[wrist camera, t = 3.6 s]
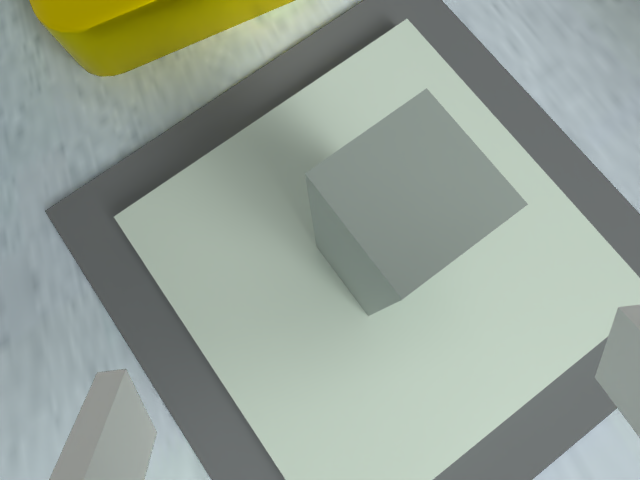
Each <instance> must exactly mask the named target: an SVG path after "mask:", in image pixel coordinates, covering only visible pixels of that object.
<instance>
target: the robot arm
mask: <svg viewBox="0 0 640 480" xmlns="http://www.w3.org/2000/svg"><path fill="white" fill-rule="evenodd" d="M595 379H596V380H597V381H598V383H599V384H600V385H601V387H602V388H603V389H604V391H605V392H606V393H607V395H608V396H609V397H610V399H611V400H612V401H613V403H614V404H615V405H616V407H617V408H618V409H619V411H620V412H621V413H622V415H623V416H624V417H625V419H626V420H627V421H628V423H629V424H630V425H631V427H632V428H633V430H634V431H635V432H636V434H637V435H638V436H639V438H640V305H632V306H624V307H618V309H617V312H616V315H615V318H614V321H613V324H612V327H611V330H610V333H609V336H608V339H607V342H606V345H605V348H604V351H603V354H602V357H601V360H600V363H599V366H598V369H597V372H596V375H595ZM156 434H157V432H156V430H155V428H154V426H153V423H152V421H151V419H150V417H149V415H148V413H147V411H146V409H145V407H144V405H143V403H142V401H141V399H140V397H139V395H138V392H137V390H136V388H135V386H134V384H133V382H132V380H131V378H130V376H129V374H128V372H127V370H126V369H121V370H113V371H105V372H97V374H96V376H95V378H94V381H93V383H92V385H91V387H90V390H89V392H88V394H87V396H86V399H85V401H84V403H83V405H82V407H81V410H80V412H79V414H78V416H77V419H76V421H75V423H74V425H73V428H72V430H71V432H70V434H69V436H68V439H67V441H66V443H65V445H64V448H63V450H62V452H61V454H60V457H59V459H58V461H57V463H56V465H55V468H54V470H53V472H52V474H51V477H50V479H49V480H145V476H146V472H147V468H148V464H149V461H150V457H151V453H152V449H153V446H154V442H155V438H156Z"/></svg>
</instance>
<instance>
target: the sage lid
mask: <svg viewBox="0 0 640 480" xmlns="http://www.w3.org/2000/svg"><path fill="white" fill-rule="evenodd" d="M114 218H115V220H116V221H117V223H118V224H119V226H120V227H121V229H122V230H123V232H124V233H125V235H126V237H127V238H128V240H129V241H130V243H131V244H132V246H133V247H134V249H135V250H136V252H137V253H138V255H139V256H140V258H141V259H142V261H143V263H144V264H145V266H146V267H147V269H148V270H149V272H150V273H151V275H152V276H153V278H154V279H155V281H156V282H157V284H158V285H159V287H160V289H161V290H162V292H163V293H164V295H165V296H166V298H167V299H168V301H169V302H170V304H171V305H172V307H173V308H174V310H175V311H176V313H177V315H178V316H179V318H180V319H181V321H182V322H183V324H184V325H185V327H186V328H187V330H188V331H189V333H190V334H191V336H192V337H193V339H194V340H195V342H196V344H197V345H198V347H199V348H200V350H201V351H202V353H203V354H204V356H205V357H206V359H207V360H208V362H209V363H210V365H211V366H212V368H213V370H214V371H215V373H216V374H217V376H218V377H219V379H220V380H221V382H222V383H223V385H224V386H225V388H226V389H227V391H228V392H229V394H230V396H231V397H232V399H233V400H234V402H235V403H236V405H237V406H238V408H239V409H240V411H241V412H242V414H243V415H244V417H245V418H246V420H247V421H248V423H249V425H250V426H251V428H252V429H253V431H254V432H255V434H256V435H257V437H258V438H259V440H260V441H261V443H262V444H263V446H264V447H265V449H266V451H267V452H268V454H269V455H270V457H271V458H272V460H273V461H274V463H275V464H276V466H277V467H278V469H279V470H280V472H281V473H282V475H283V477H284V478H285V480H433V479H434V478H435V477H437V476H438V475H439V474H440V473H441V472H443V471H444V470H445V469H446V468H448V467H449V466H450V465H451V464H452V463H454V462H455V461H456V460H457V459H459V458H460V457H461V456H462V455H463V454H465V453H466V452H467V451H468V450H470V449H471V448H472V447H473V446H474V445H476V444H477V443H478V442H479V441H481V440H482V439H483V438H484V437H486V436H487V435H488V434H489V433H490V432H492V431H493V430H494V429H495V428H497V427H498V426H499V425H500V424H501V423H503V422H504V421H505V420H506V419H508V418H509V417H510V416H511V415H512V414H514V413H515V412H516V411H517V410H519V409H520V408H521V407H522V406H523V405H525V404H526V403H527V402H528V401H530V400H531V399H532V398H533V397H534V396H536V395H537V394H538V393H539V392H541V391H542V390H543V389H544V388H545V387H547V386H548V385H549V384H550V383H552V382H553V381H554V380H555V379H556V378H558V377H559V376H560V375H561V374H563V373H564V372H565V371H566V370H567V369H569V368H570V367H571V366H572V365H574V364H575V363H576V362H577V361H578V360H580V359H581V358H582V357H583V356H585V355H586V354H587V353H588V352H589V351H591V350H592V349H593V348H594V347H596V346H597V345H598V344H599V343H600V342H602V341H603V340H604V339H605V338H607V337H608V336H609V333H610V330H611V327H612V324H613V321H614V318H615V315H616V312H617V309H618V307H624V306H632V305H640V278H639V276H638V275H637V274H636V273H635V272H634V271H633V270H632V269H631V268H630V266H629V265H628V264H627V263H626V262H625V261H624V260H623V259H622V258H621V256H620V255H619V254H618V253H617V252H616V251H615V250H614V249H613V248H612V246H611V245H610V244H609V243H608V242H607V241H606V240H605V239H604V237H603V236H602V235H601V234H600V233H599V232H598V231H597V230H596V229H595V227H594V226H593V225H592V224H591V223H590V222H589V221H588V220H587V219H586V217H585V216H584V215H583V214H582V213H581V212H580V211H579V210H578V208H577V207H576V206H575V205H574V204H573V203H572V202H571V201H570V200H569V198H568V197H567V196H566V195H565V194H564V193H563V192H562V191H561V190H560V188H559V187H558V186H557V185H556V184H555V183H554V182H553V181H552V179H551V178H550V177H549V176H548V175H547V174H546V173H545V172H544V171H543V169H542V168H541V167H540V166H539V165H538V164H537V163H536V162H535V161H534V159H533V158H532V157H531V156H530V155H529V154H528V153H527V152H526V150H525V149H524V148H523V147H522V146H521V145H520V144H519V143H518V142H517V140H516V139H515V138H514V137H513V136H512V135H511V134H510V133H509V132H508V130H507V129H506V128H505V127H504V126H503V125H502V124H501V123H500V122H499V120H498V119H497V118H496V117H495V116H494V115H493V114H492V113H491V111H490V110H489V109H488V108H487V107H486V106H485V105H484V104H483V103H482V101H481V100H480V99H479V98H478V97H477V96H476V95H475V94H474V93H473V91H472V90H471V89H470V88H469V87H468V86H467V85H466V84H465V82H464V81H463V80H462V79H461V78H460V77H459V76H458V75H457V74H456V72H455V71H454V70H453V69H452V68H451V67H450V66H449V65H448V64H447V62H446V61H445V60H444V59H443V58H442V57H441V56H440V55H439V53H438V52H437V51H436V50H435V49H434V48H433V47H432V46H431V45H430V43H429V42H428V41H427V40H426V39H425V38H424V37H423V36H422V35H421V33H420V32H419V31H418V30H417V29H416V28H415V27H414V26H413V24H412V23H411V22H410V21H409V20H408V19H406V20H404V21H403V22H401V23H400V24H398V25H397V26H395V27H394V28H392V29H391V30H390V31H388V32H387V33H385V34H384V35H382V36H381V37H379V38H378V39H376V40H375V41H373V42H372V43H370V44H369V45H367V46H366V47H364V48H363V49H361V50H360V51H358V52H357V53H355V54H354V55H352V56H351V57H350V58H348V59H347V60H345V61H344V62H342V63H341V64H339V65H338V66H336V67H335V68H333V69H332V70H330V71H329V72H327V73H326V74H324V75H323V76H321V77H320V78H318V79H317V80H315V81H314V82H313V83H311V84H310V85H308V86H307V87H305V88H304V89H302V90H301V91H299V92H298V93H296V94H295V95H293V96H292V97H290V98H289V99H287V100H286V101H284V102H283V103H281V104H280V105H278V106H277V107H275V108H274V109H273V110H271V111H270V112H268V113H267V114H265V115H264V116H262V117H261V118H259V119H258V120H256V121H255V122H253V123H252V124H250V125H249V126H247V127H246V128H244V129H243V130H241V131H240V132H238V133H237V134H236V135H234V136H233V137H231V138H230V139H228V140H227V141H225V142H224V143H222V144H221V145H219V146H218V147H216V148H215V149H213V150H212V151H210V152H209V153H207V154H206V155H204V156H203V157H201V158H200V159H198V160H197V161H196V162H194V163H193V164H191V165H190V166H188V167H187V168H185V169H184V170H182V171H181V172H179V173H178V174H176V175H175V176H173V177H172V178H170V179H169V180H167V181H166V182H164V183H163V184H161V185H160V186H159V187H157V188H156V189H154V190H153V191H151V192H150V193H148V194H147V195H145V196H144V197H142V198H141V199H139V200H138V201H136V202H135V203H133V204H132V205H130V206H129V207H127V208H126V209H124V210H123V211H121V212H120V213H119V214H117V215H116V216H114Z"/></svg>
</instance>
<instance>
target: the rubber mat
mask: <svg viewBox="0 0 640 480" xmlns="http://www.w3.org/2000/svg"><path fill="white" fill-rule="evenodd" d="M406 19H408V20H409V21H410V22H411V23H412V24H413V26H414V27H415V28H416V29H417V30H418V31H419V32H420V33H421V35H422V36H423V37H424V38H425V39H426V40H427V41H428V42H429V43H430V45H431V46H432V47H433V48H434V49H435V50H436V51H437V52H438V53H439V55H440V56H441V57H442V58H443V59H444V60H445V61H446V62H447V64H448V65H449V66H450V67H451V68H452V69H453V70H454V71H455V72H456V74H457V75H458V76H459V77H460V78H461V79H462V80H463V81H464V82H465V84H466V85H467V86H468V87H469V88H470V89H471V90H472V91H473V93H474V94H475V95H476V96H477V97H478V98H479V99H480V100H481V101H482V103H483V104H484V105H485V106H486V107H487V108H488V109H489V110H490V111H491V113H492V114H493V115H494V116H495V117H496V118H497V119H498V120H499V122H500V123H501V124H502V125H503V126H504V127H505V128H506V129H507V130H508V132H509V133H510V134H511V135H512V136H513V137H514V138H515V139H516V140H517V142H518V143H519V144H520V145H521V146H522V147H523V148H524V149H525V150H526V152H527V153H528V154H529V155H530V156H531V157H532V158H533V159H534V161H535V162H536V163H537V164H538V165H539V166H540V167H541V168H542V169H543V171H544V172H545V173H546V174H547V175H548V176H549V177H550V178H551V179H552V181H553V182H554V183H555V184H556V185H557V186H558V187H559V188H560V190H561V191H562V192H563V193H564V194H565V195H566V196H567V197H568V198H569V200H570V201H571V202H572V203H573V204H574V205H575V206H576V207H577V208H578V210H579V211H580V212H581V213H582V214H583V215H584V216H585V217H586V219H587V220H588V221H589V222H590V223H591V224H592V225H593V226H594V227H595V229H596V230H597V231H598V232H599V233H600V234H601V235H602V236H603V237H604V239H605V240H606V241H607V242H608V243H609V244H610V245H611V246H612V248H613V249H614V250H615V251H616V252H617V253H618V254H619V255H620V256H621V258H622V259H623V260H624V261H625V262H626V263H627V264H628V265H629V266H630V268H631V269H632V270H633V271H634V272H635V273H636V274H637V275H638V276H639V278H640V214H639V213H638V212H637V211H636V209H635V208H634V207H633V206H632V205H631V204H630V203H629V202H628V201H627V200H626V199H625V198H624V197H623V195H622V194H621V193H620V192H619V191H618V190H617V189H616V188H615V187H614V186H613V185H612V184H611V182H610V181H609V180H608V179H607V178H606V177H605V176H604V175H603V174H602V173H601V172H600V171H599V170H598V168H597V167H596V166H595V165H594V164H593V163H592V162H591V161H590V160H589V159H588V158H587V157H586V155H585V154H584V153H583V152H582V151H581V150H580V149H579V148H578V147H577V146H576V145H575V144H574V143H573V141H572V140H571V139H570V138H569V137H568V136H567V135H566V134H565V133H564V132H563V131H562V130H561V128H560V127H559V126H558V125H557V124H556V123H555V122H554V121H553V120H552V119H551V118H550V117H549V116H548V114H547V113H546V112H545V111H544V110H543V109H542V108H541V107H540V106H539V105H538V104H537V103H536V102H535V100H534V99H533V98H532V97H531V96H530V95H529V94H528V93H527V92H526V91H525V90H524V89H523V87H522V86H521V85H520V84H519V83H518V82H517V81H516V80H515V79H514V78H513V77H512V76H511V75H510V73H509V72H508V71H507V70H506V69H505V68H504V67H503V66H502V65H501V64H500V63H499V62H498V60H497V59H496V58H495V57H494V56H493V55H492V54H491V53H490V52H489V51H488V50H487V49H486V48H485V46H484V45H483V44H482V43H481V42H480V41H479V40H478V39H477V38H476V37H475V36H474V35H473V33H472V32H471V31H470V30H469V29H468V28H467V27H466V26H465V25H464V24H463V23H462V22H461V21H460V19H459V18H458V17H457V16H456V15H455V14H454V13H453V12H452V11H451V10H450V9H449V8H448V7H447V5H446V4H445V3H444V2H443V1H442V0H363V1H362V2H360V3H359V4H357V5H356V6H354V7H353V8H351V9H350V10H348V11H347V12H345V13H344V14H342V15H341V16H339V17H338V18H336V19H335V20H333V21H332V22H330V23H329V24H327V25H326V26H324V27H323V28H321V29H320V30H318V31H317V32H315V33H314V34H312V35H310V36H309V37H307V38H306V39H304V40H303V41H301V42H300V43H298V44H297V45H295V46H294V47H292V48H291V49H289V50H288V51H286V52H285V53H283V54H282V55H280V56H279V57H277V58H276V59H274V60H273V61H271V62H270V63H268V64H267V65H265V66H264V67H262V68H261V69H259V70H258V71H256V72H255V73H253V74H252V75H250V76H249V77H247V78H245V79H244V80H242V81H241V82H239V83H238V84H236V85H235V86H233V87H232V88H230V89H229V90H227V91H226V92H224V93H223V94H221V95H220V96H218V97H217V98H215V99H214V100H212V101H211V102H209V103H208V104H206V105H205V106H203V107H202V108H200V109H199V110H197V111H196V112H194V113H193V114H191V115H190V116H188V117H187V118H185V119H184V120H182V121H180V122H179V123H177V124H176V125H174V126H173V127H171V128H170V129H168V130H167V131H165V132H164V133H162V134H161V135H159V136H158V137H156V138H155V139H153V140H152V141H150V142H149V143H147V144H146V145H144V146H143V147H141V148H140V149H138V150H137V151H135V152H134V153H132V154H131V155H129V156H128V157H126V158H125V159H123V160H122V161H120V162H118V163H117V164H115V165H114V166H112V167H111V168H109V169H108V170H106V171H105V172H103V173H102V174H100V175H99V176H97V177H96V178H94V179H93V180H91V181H90V182H88V183H87V184H85V185H84V186H82V187H81V188H79V189H78V190H76V191H75V192H73V193H72V194H70V195H69V196H67V197H66V198H64V199H63V200H61V201H60V202H58V203H57V204H55V205H53V206H52V207H50V208H49V209H47V210H46V211H45V212H46V214H47V215H48V217H49V218H50V220H51V222H52V223H53V225H54V226H55V228H56V230H57V231H58V233H59V235H60V236H61V238H62V239H63V241H64V243H65V244H66V246H67V247H68V249H69V251H70V252H71V254H72V255H73V257H74V259H75V260H76V262H77V264H78V265H79V267H80V268H81V270H82V272H83V273H84V275H85V276H86V278H87V280H88V281H89V283H90V284H91V286H92V288H93V289H94V291H95V293H96V294H97V296H98V297H99V299H100V301H101V302H102V304H103V305H104V307H105V309H106V310H107V312H108V313H109V315H110V317H111V318H112V320H113V321H114V323H115V325H116V326H117V328H118V330H119V331H120V333H121V334H122V336H123V338H124V339H125V341H126V342H127V344H128V346H129V347H130V349H131V350H132V352H133V354H134V355H135V357H136V359H137V360H138V362H139V363H140V365H141V367H142V368H143V370H144V371H145V373H146V375H147V376H148V378H149V379H150V381H151V383H152V384H153V386H154V388H155V389H156V391H157V392H158V394H159V396H160V397H161V399H162V400H163V402H164V404H165V405H166V407H167V408H168V410H169V412H170V413H171V415H172V417H173V418H174V420H175V421H176V423H177V425H178V426H179V428H180V429H181V431H182V433H183V434H184V436H185V437H186V439H187V441H188V442H189V444H190V446H191V447H192V449H193V450H194V452H195V454H196V455H197V457H198V458H199V460H200V462H201V463H202V465H203V466H204V468H205V470H206V471H207V473H208V475H209V476H210V478H211V479H212V480H285V478H284V477H283V475H282V473H281V472H280V470H279V469H278V467H277V466H276V464H275V463H274V461H273V460H272V458H271V457H270V455H269V454H268V452H267V451H266V449H265V447H264V446H263V444H262V443H261V441H260V440H259V438H258V437H257V435H256V434H255V432H254V431H253V429H252V428H251V426H250V425H249V423H248V421H247V420H246V418H245V417H244V415H243V414H242V412H241V411H240V409H239V408H238V406H237V405H236V403H235V402H234V400H233V399H232V397H231V396H230V394H229V392H228V391H227V389H226V388H225V386H224V385H223V383H222V382H221V380H220V379H219V377H218V376H217V374H216V373H215V371H214V370H213V368H212V366H211V365H210V363H209V362H208V360H207V359H206V357H205V356H204V354H203V353H202V351H201V350H200V348H199V347H198V345H197V344H196V342H195V340H194V339H193V337H192V336H191V334H190V333H189V331H188V330H187V328H186V327H185V325H184V324H183V322H182V321H181V319H180V318H179V316H178V315H177V313H176V311H175V310H174V308H173V307H172V305H171V304H170V302H169V301H168V299H167V298H166V296H165V295H164V293H163V292H162V290H161V289H160V287H159V285H158V284H157V282H156V281H155V279H154V278H153V276H152V275H151V273H150V272H149V270H148V269H147V267H146V266H145V264H144V263H143V261H142V259H141V258H140V256H139V255H138V253H137V252H136V250H135V249H134V247H133V246H132V244H131V243H130V241H129V240H128V238H127V237H126V235H125V233H124V232H123V230H122V229H121V227H120V226H119V224H118V223H117V221H116V220H115V218H114V216H116V215H117V214H119V213H120V212H121V211H123V210H124V209H126V208H127V207H129V206H130V205H132V204H133V203H135V202H136V201H138V200H139V199H141V198H142V197H144V196H145V195H147V194H148V193H150V192H151V191H153V190H154V189H156V188H157V187H159V186H160V185H161V184H163V183H164V182H166V181H167V180H169V179H170V178H172V177H173V176H175V175H176V174H178V173H179V172H181V171H182V170H184V169H185V168H187V167H188V166H190V165H191V164H193V163H194V162H196V161H197V160H198V159H200V158H201V157H203V156H204V155H206V154H207V153H209V152H210V151H212V150H213V149H215V148H216V147H218V146H219V145H221V144H222V143H224V142H225V141H227V140H228V139H230V138H231V137H233V136H234V135H236V134H237V133H238V132H240V131H241V130H243V129H244V128H246V127H247V126H249V125H250V124H252V123H253V122H255V121H256V120H258V119H259V118H261V117H262V116H264V115H265V114H267V113H268V112H270V111H271V110H273V109H274V108H275V107H277V106H278V105H280V104H281V103H283V102H284V101H286V100H287V99H289V98H290V97H292V96H293V95H295V94H296V93H298V92H299V91H301V90H302V89H304V88H305V87H307V86H308V85H310V84H311V83H313V82H314V81H315V80H317V79H318V78H320V77H321V76H323V75H324V74H326V73H327V72H329V71H330V70H332V69H333V68H335V67H336V66H338V65H339V64H341V63H342V62H344V61H345V60H347V59H348V58H350V57H351V56H352V55H354V54H355V53H357V52H358V51H360V50H361V49H363V48H364V47H366V46H367V45H369V44H370V43H372V42H373V41H375V40H376V39H378V38H379V37H381V36H382V35H384V34H385V33H387V32H388V31H390V30H391V29H392V28H394V27H395V26H397V25H398V24H400V23H401V22H403V21H404V20H406ZM607 339H608V337H607V338H605V339H604V340H603V341H602V342H600V343H599V344H598V345H597V346H596V347H594V348H593V349H592V350H591V351H589V352H588V353H587V354H586V355H585V356H583V357H582V358H581V359H580V360H578V361H577V362H576V363H575V364H574V365H572V366H571V367H570V368H569V369H567V370H566V371H565V372H564V373H563V374H561V375H560V376H559V377H558V378H556V379H555V380H554V381H553V382H552V383H550V384H549V385H548V386H547V387H545V388H544V389H543V390H542V391H541V392H539V393H538V394H537V395H536V396H534V397H533V398H532V399H531V400H530V401H528V402H527V403H526V404H525V405H523V406H522V407H521V408H520V409H519V410H517V411H516V412H515V413H514V414H512V415H511V416H510V417H509V418H508V419H506V420H505V421H504V422H503V423H501V424H500V425H499V426H498V427H497V428H495V429H494V430H493V431H492V432H490V433H489V434H488V435H487V436H486V437H484V438H483V439H482V440H481V441H479V442H478V443H477V444H476V445H474V446H473V447H472V448H471V449H470V450H468V451H467V452H466V453H465V454H463V455H462V456H461V457H460V458H459V459H457V460H456V461H455V462H454V463H452V464H451V465H450V466H449V467H448V468H446V469H445V470H444V471H443V472H441V473H440V474H439V475H438V476H437V477H435V478H434V479H433V480H532V479H533V478H535V477H536V476H537V475H538V474H539V473H541V472H542V471H543V470H544V469H545V468H547V467H548V466H549V465H550V464H551V463H552V462H554V461H555V460H556V459H557V458H558V457H560V456H561V455H562V454H563V453H564V452H566V451H567V450H568V449H569V448H570V447H571V446H573V445H574V444H575V443H576V442H577V441H579V440H580V439H581V438H582V437H583V436H585V435H586V434H587V433H588V432H589V431H590V430H592V429H593V428H594V427H595V426H596V425H598V424H599V423H600V422H601V421H602V420H604V419H605V418H606V417H607V416H608V415H609V414H611V413H612V412H613V411H614V410H615V409H617V407H616V405H615V404H614V403H613V401H612V400H611V399H610V397H609V396H608V395H607V393H606V392H605V391H604V389H603V388H602V387H601V385H600V384H599V383H598V381H597V380H596V379H595V375H596V372H597V369H598V366H599V363H600V360H601V357H602V354H603V351H604V348H605V345H606V342H607Z"/></svg>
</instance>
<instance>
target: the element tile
mask: <svg viewBox="0 0 640 480" xmlns="http://www.w3.org/2000/svg"><path fill="white" fill-rule="evenodd" d="M29 1H30V4H31V6H32V9H33V11H34V13H35V15H36V16H37V18H38V20H39V21H40V22H41V24H42V25H43V26H44V27H45V28H46V29H47V30H48V31H49V32H50V33H51V34H52V35H53V37H54V38H55V39H56V40H57V41H58V42H59V43H60V44H61V45H62V46H63V47H64V48H65V49H66V51H67V52H68V53H69V54H70V55H71V56H72V57H73V58H74V59H75V60H76V61H77V62H78V64H79V65H81V66H82V67H83V68H84V69H85V70H86V71H87V72H89V73H91V74H94V75H97V76H115V75H118V74H122V73H125V72H127V71H130V70H132V69H135V68H137V67H139V66H142V65H144V64H146V63H149V62H151V61H153V60H156V59H158V58H160V57H163V56H165V55H168V54H170V53H172V52H175V51H177V50H179V49H182V48H184V47H186V46H189V45H191V44H194V43H196V42H198V41H201V40H203V39H205V38H208V37H210V36H212V35H215V34H217V33H219V32H222V31H224V30H227V29H229V28H231V27H234V26H236V25H238V24H241V23H243V22H245V21H248V20H250V19H252V18H255V17H257V16H260V15H262V14H264V13H267V12H269V11H271V10H274V9H276V8H278V7H281V6H283V5H285V4H288V3H290V2H293V1H295V0H29Z"/></svg>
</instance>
